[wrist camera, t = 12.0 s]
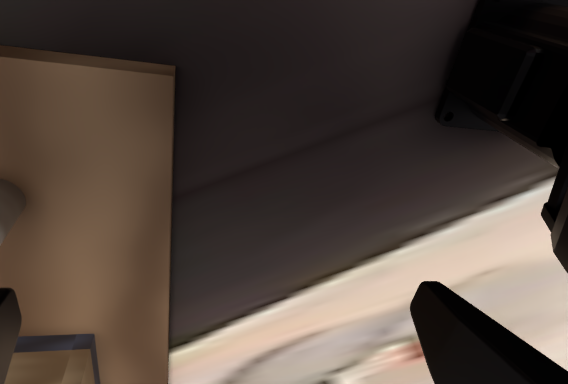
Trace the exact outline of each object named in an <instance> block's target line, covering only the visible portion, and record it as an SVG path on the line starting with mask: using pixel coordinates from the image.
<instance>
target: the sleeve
mask: <svg viewBox="0 0 568 384" xmlns="http://www.w3.org/2000/svg"><path fill="white" fill-rule="evenodd" d="M4 384H100V376H99V368H98V360H97V352H96V343H95V335H94V334H70V335H46V336H21V337H18V339H17V342H16V346H15V349H14V352H13V356H12V359H11V363H10V366H9V369H8V373H7V376H6V380H5V383H4Z"/></svg>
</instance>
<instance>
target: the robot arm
mask: <svg viewBox="0 0 568 384" xmlns="http://www.w3.org/2000/svg"><path fill="white" fill-rule="evenodd" d="M448 112H449V115H448V116H447V117H446V118H444V116H445V114H446V113H448ZM435 118H436V120H437V121H438V122H439V123H440V124H441V125H443V126H450V127H460V128H470V129H480V130H491V131H500V132H501V133H503V134H505V135H506V136H508V137H509V138H511V139H513V140H514V141H516V142H517V143H519V144H520V145H522V146H524V147H525V148H527V149H528V150H530V151H532V152H533V153H535V154H536V155H538V156H539V157H541V158H543V159H544V160H546V161H547V162H549V163H551V164H552V165H554V166H555V167H557V168H559V170H558V173H557V176H556V179H555V182H554V185H553V188H552V191H551V194H550V197H549V200H548V202H546V203H545V204H544V206H543V209H542V212H541V216H542V218H543V220H544V221H545V223H546V225H547V226H548V228H549V230H550V231H551V240H552V247H553V252H554V254H555V255H556V257H557V258H558V260H559V261H560V263H561V264H562V266H563V267H564V269H565V270H566V272H567V273H568V0H479V3H478V5H477V8H476V10H475V13H474V16H473V18H472V21H471V23H470V26H469V29H468V31H467V32H466V34H465V37H464V39H463V42H462V44H461V47H460V50H459V52H458V55H457V57H456V60H455V63H454V65H453V68H452V70H451V73H450V76H449V78H448V81H447V84H446V88H445V91H444V93H443V96H442V99H441V101H440V104H439V106H438V109H437V112H436V115H435ZM410 312H411V316H412V319H413V322H414V325H415V328H416V331H417V335H418V338H419V341H420V344H421V347H422V350H423V353H424V356H425V360H426V363H427V365H428V368H429V371H430V374H431V376H432V379H433V381H434V383H435V384H568V371H567V370H565V369H564V368H562V367H561V366H559V365H558V364H556V363H555V362H554V361H552V360H551V359H549V358H548V357H546V356H545V355H544V354H542V353H541V352H539V351H538V350H536V349H535V348H533V347H532V346H531V345H529V344H528V343H526V342H525V341H523V340H522V339H521V338H519V337H518V336H516V335H515V334H513V333H512V332H510V331H509V330H508V329H506V328H505V327H503V326H502V325H500V324H499V323H498V322H496V321H495V320H493V319H492V318H490V317H489V316H487V315H486V314H485V313H483V312H482V311H480V310H479V309H477V308H476V307H475V306H473V305H472V304H470V303H469V302H467V301H466V300H464V299H463V298H462V297H460V296H459V295H457V294H456V293H454V292H453V291H452V290H450V289H449V288H447V287H446V286H444V285H443V284H441V283H440V282H437V281H424V282H422V283H421V284H420V285H419V287H418V289H417V291H416V293H415V296H414V298H413V300H412V302H411V305H410ZM21 323H22V316H21V312H20V308H19V304H18V300H17V296H16V293H15V291H14V289H12V288H10V287H3V288H0V384H4V383H5V380H6V376H7V373H8V369H9V366H10V363H11V359H12V356H13V352H14V349H15V346H16V342H17V339H18V335H19V332H20V328H21Z"/></svg>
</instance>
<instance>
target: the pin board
mask: <svg viewBox="0 0 568 384" xmlns="http://www.w3.org/2000/svg"><path fill="white" fill-rule="evenodd" d="M174 104H175V66H172V65H163V64H155V63H146V62H138V61H129V60H121V59H113V58H104V57H96V56H87V55H79V54H70V53H62V52H53V51H45V50H37V49H28V48H20V47H11V46H3V45H0V288H3V287H10V288H12V289H14V291H15V293H16V296H17V300H18V304H19V308H20V312H21V316H22V323H21V328H20V332H19V335H18V337H21V336H46V335H70V334H94V335H95V343H96V352H97V360H98V368H99V376H100V384H168V358H169V316H170V273H171V231H172V188H173V146H174Z"/></svg>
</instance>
